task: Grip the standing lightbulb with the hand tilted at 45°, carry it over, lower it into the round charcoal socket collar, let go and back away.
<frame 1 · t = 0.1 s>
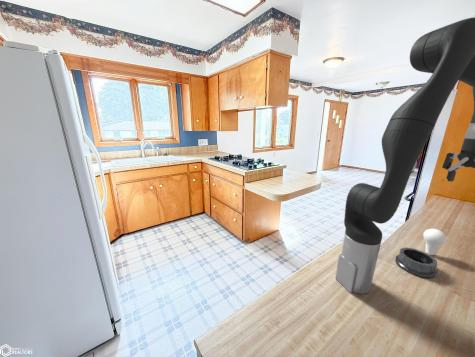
hand: (466, 184, 66), 29 cm above the worktop, tool pointing down, fingers open, 8 cm apart
lightbulb: (428, 254, 74), on the worktop
socket holder: (414, 266, 68), on the worktop
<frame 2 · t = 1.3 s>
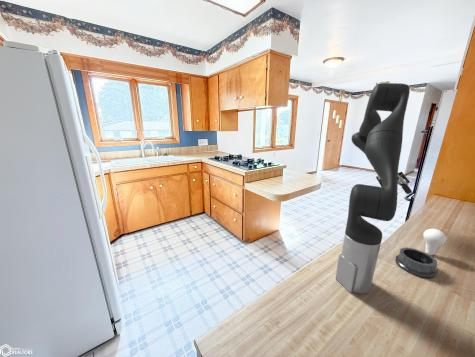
hand: (402, 194, 81), 20 cm above the worktop, tool tilted 45°, fingers open, 8 cm apart
nothing on the worktop moved.
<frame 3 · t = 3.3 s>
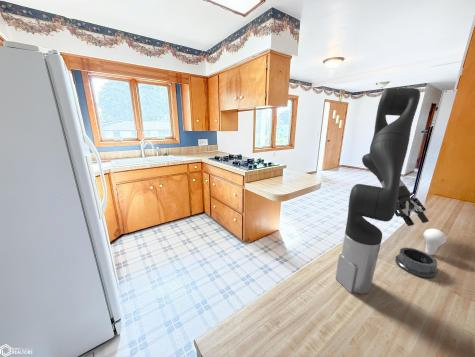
hand: (418, 223, 77), 11 cm above the worktop, tool tilted 45°, fingers open, 8 cm apart
nothing on the worktop moved.
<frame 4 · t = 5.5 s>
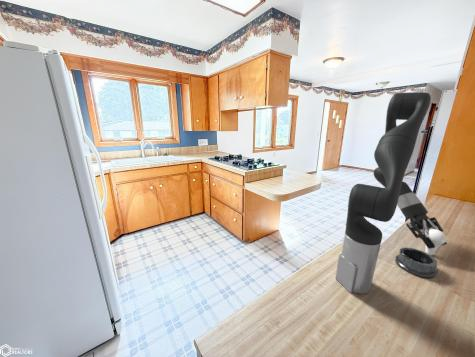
hand: (437, 246, 71), 5 cm above the worktop, tool tilted 45°, fingers closed on lightbulb, 6 cm apart
lightbulb: (428, 254, 74), on the worktop, touching gripper
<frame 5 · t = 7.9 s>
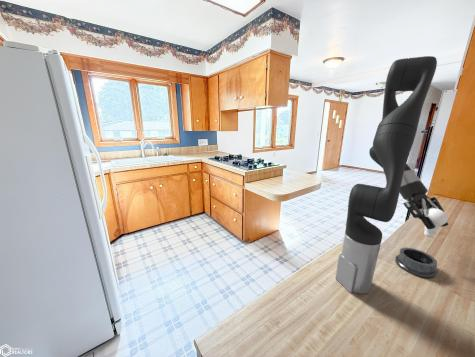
hand: (438, 227, 65), 16 cm above the worktop, tool tilted 45°, fingers closed on lightbulb, 6 cm apart
lightbulb: (428, 237, 68), point 10 cm above the worktop, touching gripper
when the fingers open (7 cm above the worktop, at t = 10.5 s): lightbulb drops 1 cm, resting on socket holder.
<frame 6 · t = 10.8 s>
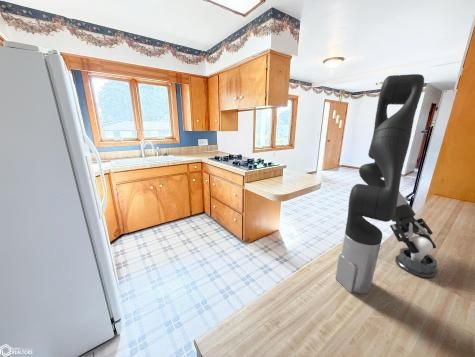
hand: (424, 250, 65), 8 cm above the worktop, tool tilted 45°, fingers open, 8 cm apart
lightbulb: (414, 264, 68), point 1 cm above the worktop, touching socket holder
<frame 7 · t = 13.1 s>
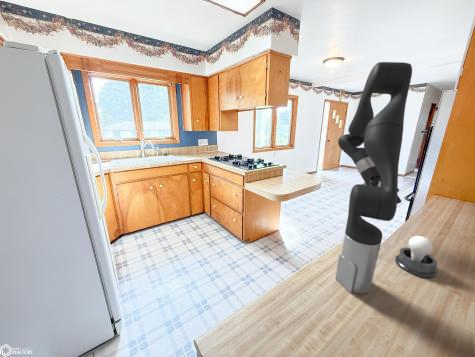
hand: (391, 204, 74), 20 cm above the worktop, tool tilted 45°, fingers open, 8 cm apart
nothing on the worktop moved.
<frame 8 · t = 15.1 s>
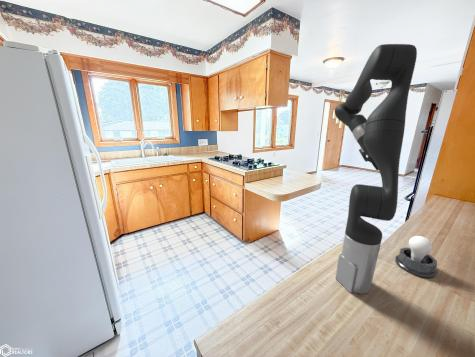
hand: (388, 168, 72), 34 cm above the worktop, tool tilted 45°, fingers open, 8 cm apart
nothing on the worktop moved.
at the end: lightbulb 0.3 cm off-centre on the socket holder, point 0.8 cm above the socket holder's base; lightbulb tilted 1°; the gripper is holding nothing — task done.
